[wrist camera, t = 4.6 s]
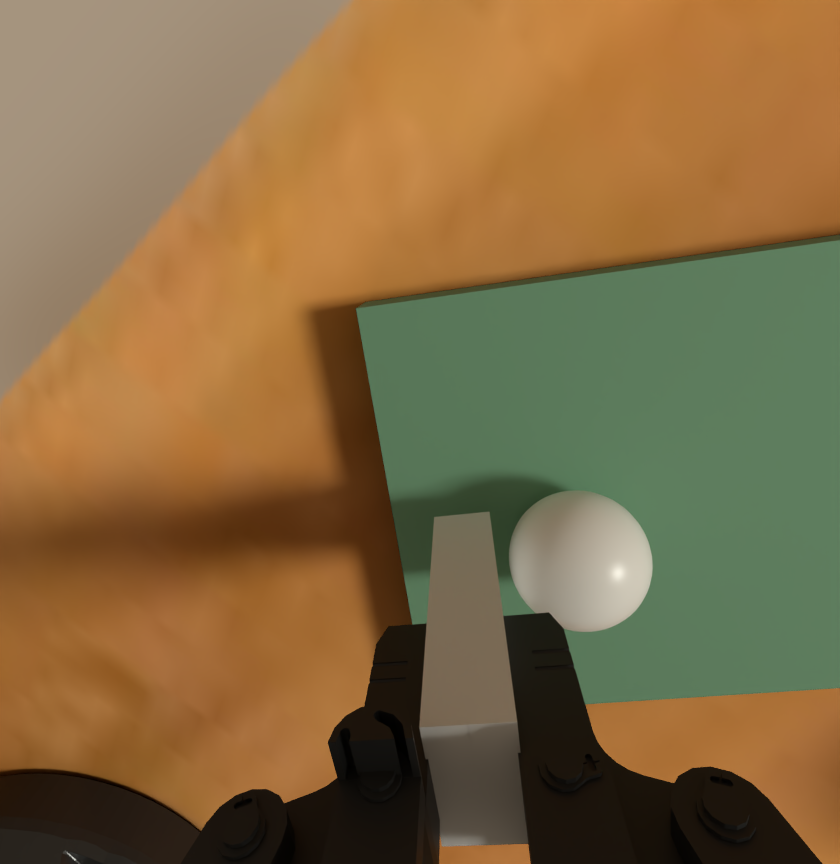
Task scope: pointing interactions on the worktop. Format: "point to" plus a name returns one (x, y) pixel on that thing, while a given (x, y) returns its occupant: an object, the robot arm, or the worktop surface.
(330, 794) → the robot arm
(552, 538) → the ball
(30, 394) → the worktop surface
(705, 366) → the mat
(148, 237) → the worktop surface
